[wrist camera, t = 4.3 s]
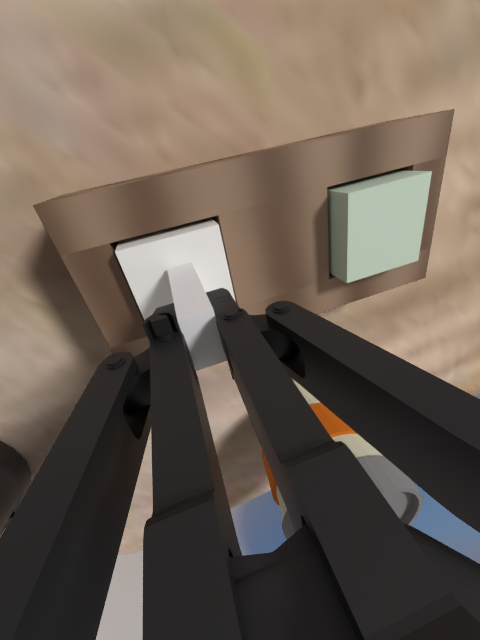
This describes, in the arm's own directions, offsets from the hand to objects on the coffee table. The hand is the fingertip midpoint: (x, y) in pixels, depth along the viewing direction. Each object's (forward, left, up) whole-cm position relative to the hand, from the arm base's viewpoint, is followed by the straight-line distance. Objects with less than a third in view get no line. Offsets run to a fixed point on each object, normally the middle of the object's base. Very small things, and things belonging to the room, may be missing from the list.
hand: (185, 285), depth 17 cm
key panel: (+7, 0, -7) cm, 10 cm away
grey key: (0, 0, -5) cm, 5 cm away
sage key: (+14, 0, -4) cm, 15 cm away
